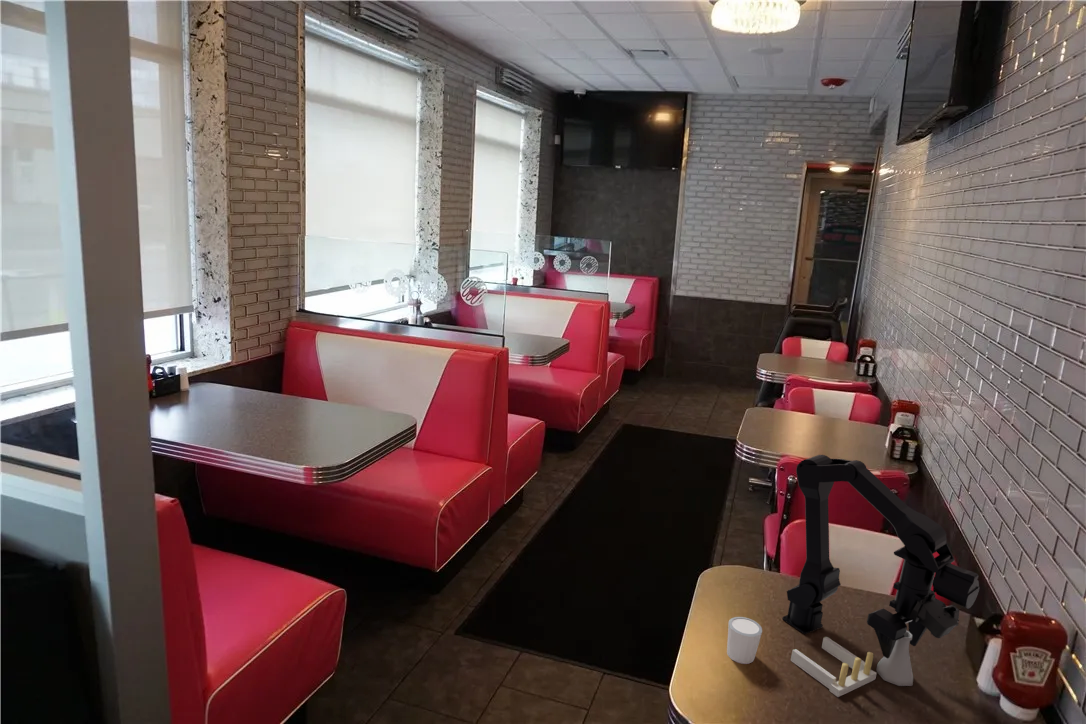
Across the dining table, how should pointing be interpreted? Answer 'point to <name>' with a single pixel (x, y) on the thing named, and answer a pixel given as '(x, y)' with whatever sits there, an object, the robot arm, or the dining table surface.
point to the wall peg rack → (845, 684)
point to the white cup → (743, 639)
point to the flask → (898, 663)
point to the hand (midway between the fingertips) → (899, 651)
